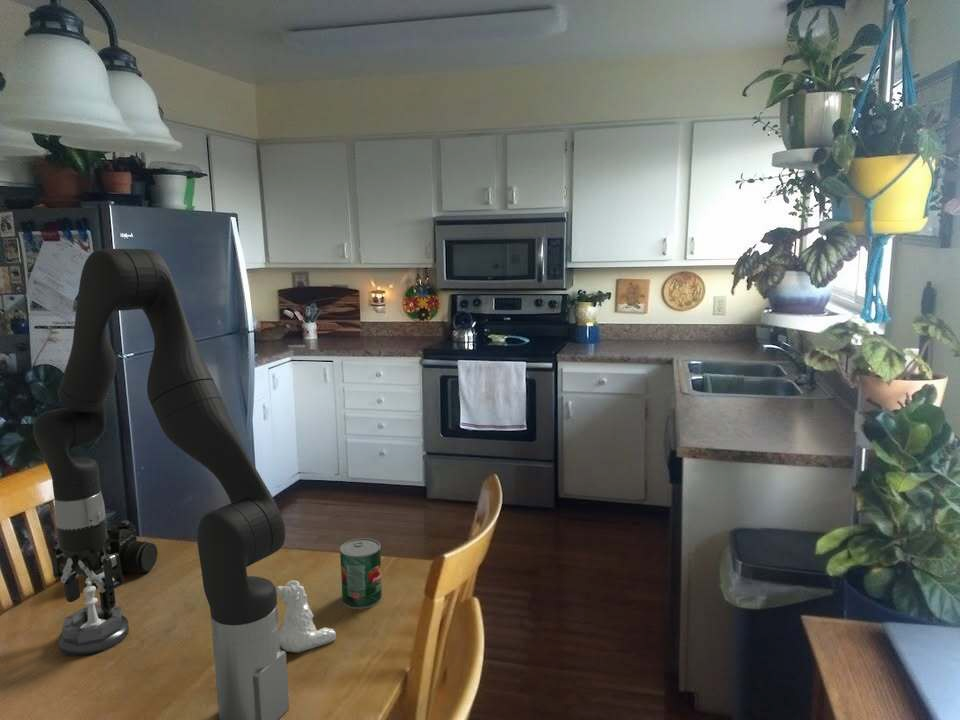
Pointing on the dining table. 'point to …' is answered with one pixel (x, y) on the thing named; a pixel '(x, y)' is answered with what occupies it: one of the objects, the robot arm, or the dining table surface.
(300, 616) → the sitting furry creature
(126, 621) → the ashtray
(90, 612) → the chess piece
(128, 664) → the dining table surface
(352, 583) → the canned tomato
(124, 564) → the camera
